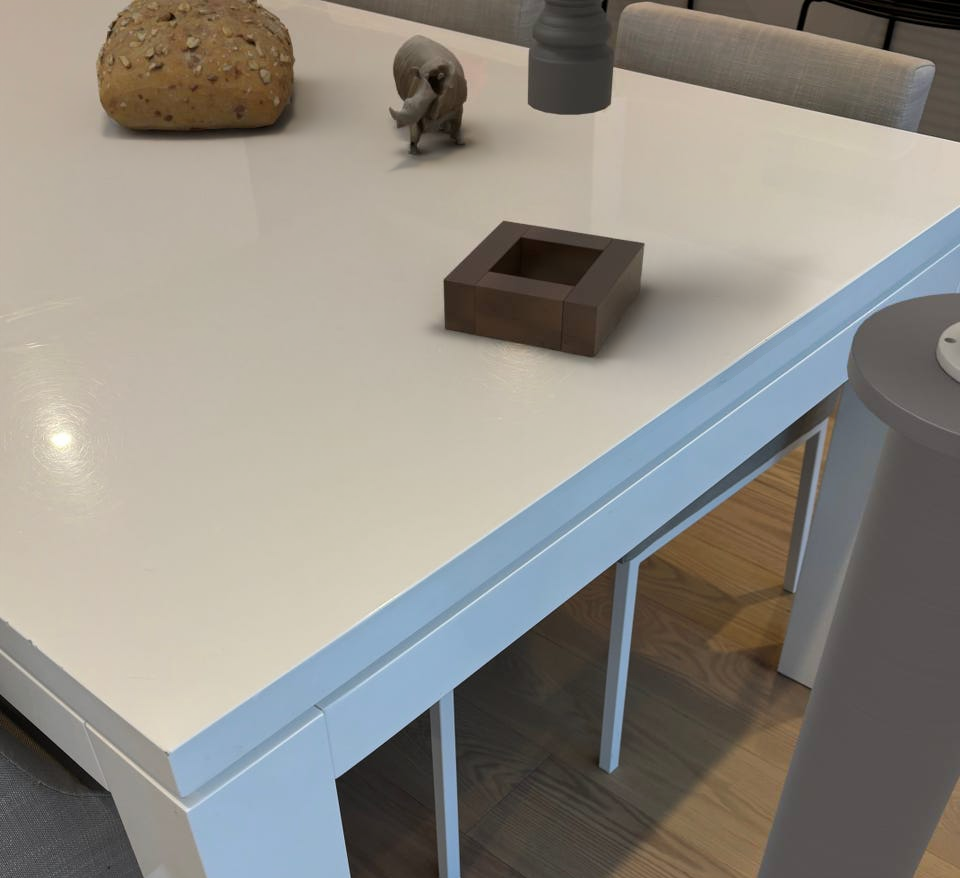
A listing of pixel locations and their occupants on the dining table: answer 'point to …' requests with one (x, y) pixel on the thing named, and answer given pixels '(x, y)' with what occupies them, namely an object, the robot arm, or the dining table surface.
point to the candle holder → (571, 59)
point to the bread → (195, 65)
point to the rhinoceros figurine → (429, 89)
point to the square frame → (544, 287)
